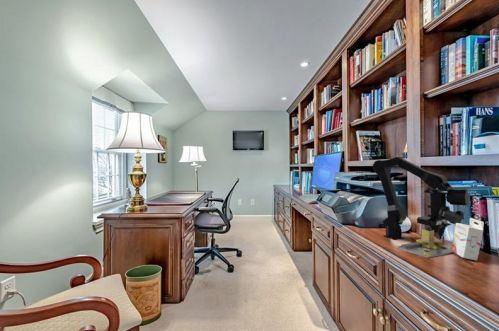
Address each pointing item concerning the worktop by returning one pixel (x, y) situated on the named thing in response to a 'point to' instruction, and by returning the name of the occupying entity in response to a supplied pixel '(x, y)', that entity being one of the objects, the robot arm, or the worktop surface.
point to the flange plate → (428, 251)
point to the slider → (427, 238)
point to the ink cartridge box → (467, 239)
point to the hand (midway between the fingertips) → (439, 239)
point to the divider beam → (418, 244)
